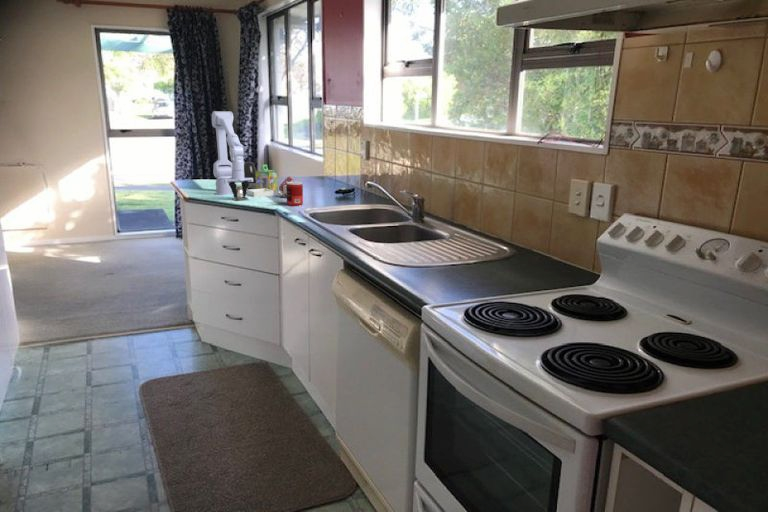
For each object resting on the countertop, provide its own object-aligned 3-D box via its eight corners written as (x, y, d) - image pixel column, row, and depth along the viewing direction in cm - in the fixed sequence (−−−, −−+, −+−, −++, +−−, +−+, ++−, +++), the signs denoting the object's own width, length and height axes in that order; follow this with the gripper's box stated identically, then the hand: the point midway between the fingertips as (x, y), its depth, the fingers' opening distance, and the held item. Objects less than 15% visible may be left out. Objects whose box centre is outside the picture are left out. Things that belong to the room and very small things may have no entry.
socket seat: (229, 200, 295) (229, 197, 295) (244, 199, 299) (244, 196, 299) (234, 202, 288) (234, 199, 288) (250, 201, 293) (250, 198, 292)
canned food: (305, 204, 286) (305, 181, 284) (298, 206, 279) (297, 183, 276) (291, 203, 289) (291, 181, 286) (284, 205, 281) (283, 183, 279)
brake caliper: (303, 191, 312) (299, 175, 302) (299, 206, 305) (294, 190, 296) (283, 190, 313) (278, 174, 304) (278, 205, 306) (273, 189, 297)
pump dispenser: (262, 187, 340) (261, 161, 336) (250, 189, 331) (248, 163, 327) (250, 186, 345) (249, 160, 341) (237, 188, 337) (235, 161, 333)
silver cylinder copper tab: (234, 199, 294) (233, 186, 293) (242, 198, 297) (241, 186, 295) (237, 200, 291) (236, 187, 289) (245, 199, 293) (244, 187, 291)
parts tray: (246, 195, 311) (246, 189, 311) (266, 193, 317) (265, 188, 317) (254, 198, 303) (254, 192, 302) (274, 196, 308) (273, 190, 308)
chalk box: (269, 192, 322) (268, 165, 318) (255, 191, 325) (254, 165, 321) (278, 190, 330) (277, 164, 326) (264, 189, 333) (263, 163, 329)
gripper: (226, 171, 283) (228, 199, 286) (254, 169, 291) (256, 196, 294) (222, 170, 288) (223, 197, 292) (249, 168, 296) (251, 194, 300)
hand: (239, 196), depth 293 cm, fingers open, 4 cm apart
